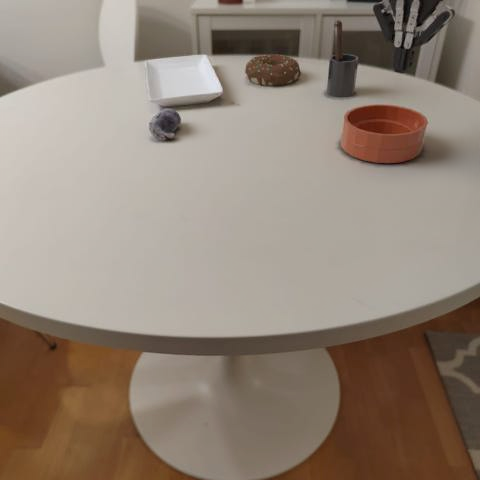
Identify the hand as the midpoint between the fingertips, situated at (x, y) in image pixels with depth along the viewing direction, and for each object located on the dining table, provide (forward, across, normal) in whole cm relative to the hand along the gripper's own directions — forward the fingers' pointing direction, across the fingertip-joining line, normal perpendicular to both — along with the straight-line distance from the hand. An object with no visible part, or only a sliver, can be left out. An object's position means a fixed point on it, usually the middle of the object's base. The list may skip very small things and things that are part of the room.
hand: (400, 71), depth 76 cm
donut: (+13, +41, -16) cm, 46 cm away
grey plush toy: (+13, +37, +22) cm, 45 cm away
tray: (+13, +55, +2) cm, 57 cm away
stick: (+12, +22, -18) cm, 31 cm away
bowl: (+13, 0, +2) cm, 13 cm away
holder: (+13, +22, -18) cm, 31 cm away
